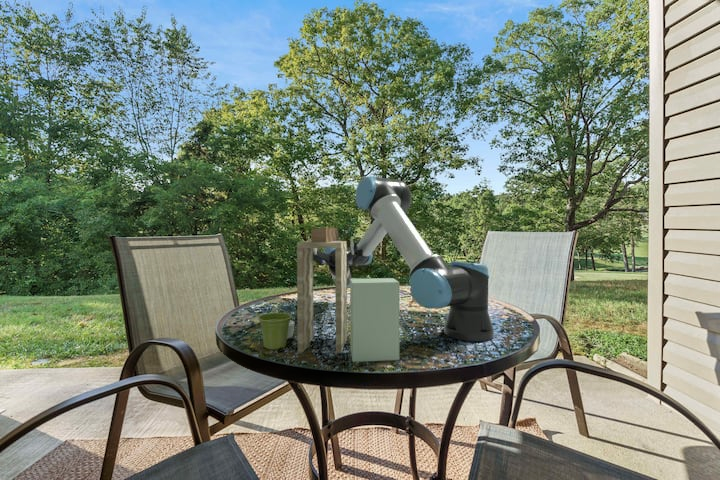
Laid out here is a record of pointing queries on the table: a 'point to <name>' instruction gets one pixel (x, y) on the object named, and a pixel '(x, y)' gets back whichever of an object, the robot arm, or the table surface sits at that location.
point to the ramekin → (290, 329)
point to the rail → (324, 234)
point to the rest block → (374, 319)
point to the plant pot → (275, 329)
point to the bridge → (307, 292)
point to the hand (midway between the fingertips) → (332, 242)
